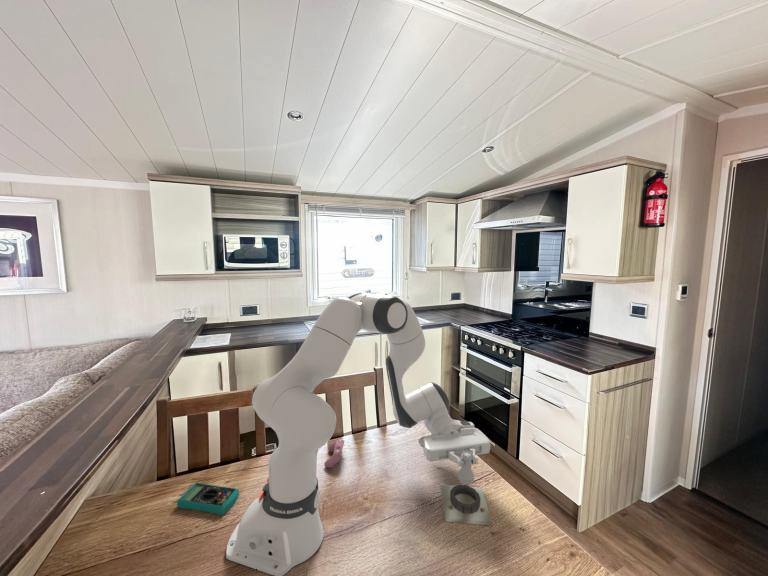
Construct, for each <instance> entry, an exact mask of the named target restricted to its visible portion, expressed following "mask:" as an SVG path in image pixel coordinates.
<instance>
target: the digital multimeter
mask: <svg viewBox="0 0 768 576" xmlns="http://www.w3.org/2000/svg"><path fill="white" fill-rule="evenodd" d="M239 489H240V488H239ZM239 489H238V488H233V487H225V486H218V485H213V484H206V483H200V482H195V483H194V484H193V485H191V486H190V487H189V488H188V489H187V490H186V491H185V492H184V493H183V494H181V496H180V497H179V498H178V499H177V501H176V507H177V508H178V509H184V510H194V511H199V512H206V513H211V514H216V515H221V516H224V515H225V514H226V513H227V512H228V511H230V509H231V508H232V507H233V506H234V505H235V503H236V502H237V500H238V498H239V496H240V490H239Z"/></svg>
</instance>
